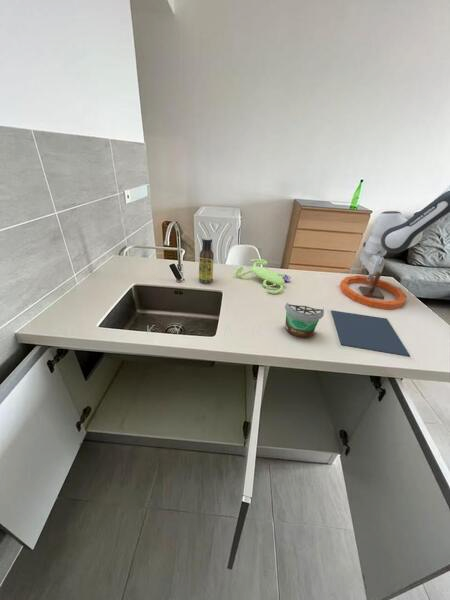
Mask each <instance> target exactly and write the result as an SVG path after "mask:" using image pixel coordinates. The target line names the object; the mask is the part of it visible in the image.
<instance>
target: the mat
mask: <svg viewBox="0 0 450 600" xmlns="http://www.w3.org/2000/svg"><path fill="white" fill-rule="evenodd" d="M330 312H331V316H332V319H333V322H334V327H335V329H336V333H337V336H338V339H339V343H340V346H344V347H349V348H350V347H351V348H357V349H361V350H367V351H375V352H380V353H386V354H393V355H398V356H403V357H411V355H410V353H409V351H408V349H406V346H405V345H404V343H403V342H402V340H401V339H400V337H399V335H398V334H397V332H396V330H395V329H394V327H393V325H392V324H391V323H390V321H389V320H388V318H386V317H380V316H373V315H365V314H359V313H352V312H345V311H338V310H333V309H332V310H331V309H330Z"/></svg>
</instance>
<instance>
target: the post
mask: <svg viewBox="0 0 450 600" xmlns="http://www.w3.org/2000/svg"><path fill="white" fill-rule="evenodd" d="M382 274H383V273H382V272H377V273H376V276H374V277H373V278H374V280H373V283H372V284H370V286H364V285H363V286H362V285H359V286H358V289H359V291H360V293H361V295H362V296H365V297H368V298H371V299H376V300H384V299H385V295H384V294H383V293H382V292H381V290H380V289H379V287H378V286H377V283H378V281H379V280H381V279H380V278H381V276H382Z"/></svg>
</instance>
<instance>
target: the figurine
mask: <svg viewBox="0 0 450 600" xmlns="http://www.w3.org/2000/svg"><path fill="white" fill-rule="evenodd" d="M250 262H252V263H253V266H252V267H250V268H251V269H249V270H247V271H243V270H244V267H243V266H240V267H239V268H238V269H237V270H236V272H235V274H234V276H235V277H240V278H241V277H243V276H245V275H247V274H250V273H252V272H253V274H255V275H256V276H258V277H259V278H261V280H263V281H262V285H263V286H264V287H266V291H267V293H269V294H273V295H275V294H276V295H277V294H280V293H281V292H282V291H283V290H284V285H285V284H286V282H289V281H290V280H291V276H289V275H287V274H285V273H281V272H277V273H276V272H274V271H272V270H270V269H268V268H264V267H261V266H257V265H264V266H267V265H268V261H267V260H265V259H263V258H262V259H261V258H260V259H250ZM267 282H269V283H271V285H268V284H267ZM275 286H280V287H279V288H278V289H277V290H270V289H269V288H268V287H275Z"/></svg>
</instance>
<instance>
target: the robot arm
mask: <svg viewBox="0 0 450 600" xmlns="http://www.w3.org/2000/svg"><path fill="white" fill-rule="evenodd" d="M449 215H450V184H449V185H448V186H447V187H446V188H445V189H444V190H443V191H442V192H441V193H440V194H439V195H437V197H436V198H434V199H433V200H432V201H430V203H429V204H427V205H426V206H425V207H423V208H422V209H420V211H418V212H417V213H416V214H414V215H413V216H411V217H409V219H407V217H406V216H404V215H403V213H402V212H401V211H398V210H387V211H386V210H385V211H383V212H381V213H379V214H378V215H377V217H376V219H375V221H374V223H373V226H372V228H371V231H370V235H369V237H368V239H367V241H363V242H362V248H361V251H360V254H359V261H360V262H361V266H360V267H361V268H360V270H359V271H360V273H361V274H364V273H366V271H367V272H368V275H367V276H365V277H366V280H367V281H369V282H370V281H371V279H372V278H375V276H376V273H377V272H381V273H382V272H383V269H384V267H385V264H386V263H385V262H386V260H385V258H384V256H386V255H387V253H390V254H400V253H402V252H404V251H406V250H407V249H409V248H411V247H414V246H416V245H417V244H419V243H420V242H421V241H422V240H423V237H424V231H425V230H427V229H428V228H430V227H431V226H433V225H434V224H435V223H437V222H439V221H440V220H441V219H443V218H446V217H447V216H449Z"/></svg>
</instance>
